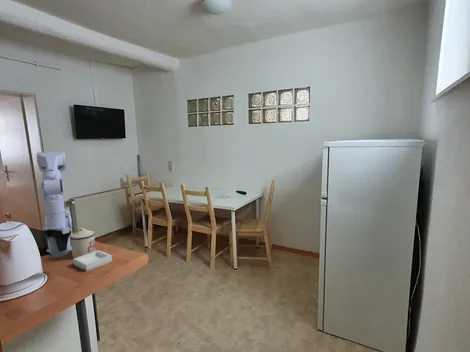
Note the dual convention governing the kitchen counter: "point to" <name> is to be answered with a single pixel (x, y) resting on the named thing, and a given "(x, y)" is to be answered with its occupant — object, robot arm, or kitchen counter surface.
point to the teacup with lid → (82, 242)
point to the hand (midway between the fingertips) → (59, 249)
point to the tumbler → (56, 248)
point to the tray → (92, 260)
